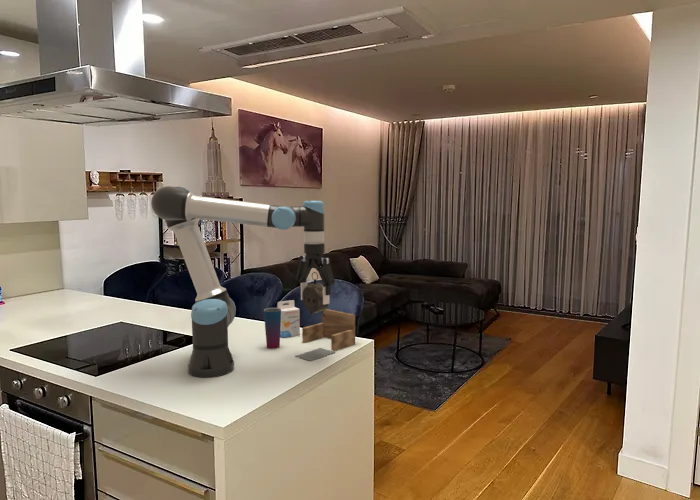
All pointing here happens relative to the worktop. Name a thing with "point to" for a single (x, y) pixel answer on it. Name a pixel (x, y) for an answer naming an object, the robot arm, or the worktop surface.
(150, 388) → the worktop surface
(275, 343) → the cup
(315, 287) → the alarm clock
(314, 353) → the slate pad
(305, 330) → the wooden holder
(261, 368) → the worktop surface
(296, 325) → the ink box
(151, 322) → the worktop surface
